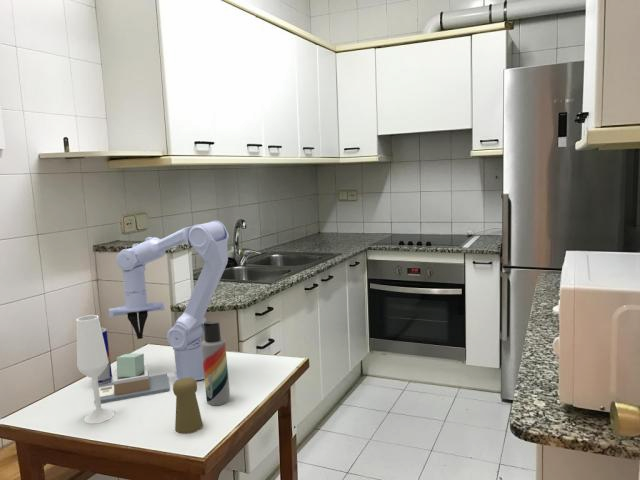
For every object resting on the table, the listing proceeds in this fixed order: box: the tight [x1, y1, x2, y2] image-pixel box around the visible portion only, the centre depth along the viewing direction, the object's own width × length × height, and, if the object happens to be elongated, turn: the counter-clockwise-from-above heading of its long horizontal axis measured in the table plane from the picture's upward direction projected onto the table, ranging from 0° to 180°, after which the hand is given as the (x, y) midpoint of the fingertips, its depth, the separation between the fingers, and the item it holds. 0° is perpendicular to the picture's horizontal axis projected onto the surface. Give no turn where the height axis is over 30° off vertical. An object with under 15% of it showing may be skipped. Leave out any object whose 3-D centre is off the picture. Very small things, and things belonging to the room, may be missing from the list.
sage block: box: [116, 353, 145, 377], centre depth 141 cm, size 5×5×5 cm
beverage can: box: [97, 327, 113, 385], centre depth 147 cm, size 5×5×15 cm
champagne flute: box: [75, 314, 115, 424], centre depth 126 cm, size 7×7×24 cm
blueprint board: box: [93, 364, 170, 404], centre depth 142 cm, size 18×11×5 cm, turn 108°
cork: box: [172, 378, 204, 435], centre depth 119 cm, size 6×6×11 cm
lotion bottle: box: [201, 321, 231, 406], centre depth 131 cm, size 6×6×20 cm
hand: (140, 337), depth 152 cm, fingers closed
